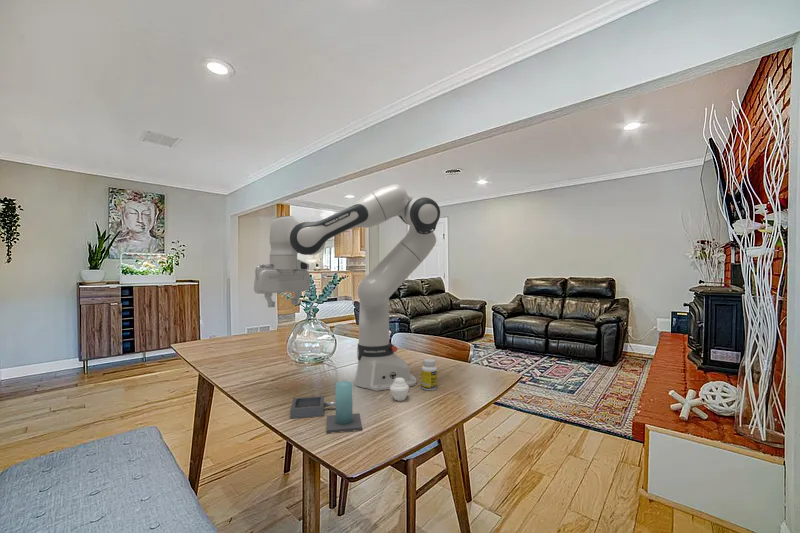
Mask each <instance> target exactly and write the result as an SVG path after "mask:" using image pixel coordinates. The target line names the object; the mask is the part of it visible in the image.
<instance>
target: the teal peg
mask: <svg viewBox="0 0 800 533" xmlns="http://www.w3.org/2000/svg"><path fill="white" fill-rule="evenodd" d="M335 402H336V406H335V415H336V423H337V424H339V425H347V424H350V423H351V422H352V414H353V382H352V381H348V380H345V381H344V380H343V381H342V380H341V381H337V382H336V383H335Z"/></svg>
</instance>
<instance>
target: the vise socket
mask: <svg viewBox="0 0 800 533" xmlns="http://www.w3.org/2000/svg"><path fill="white" fill-rule="evenodd" d="M326 407H327V408H329V407H336V401H326V402H325V395H318V396H304V397H293V399H292V401H291V406H290V408H289V419H290V420H291V419H302V418H314V416H318V417H324V412H325V411H324V409H325V408H326Z"/></svg>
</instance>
